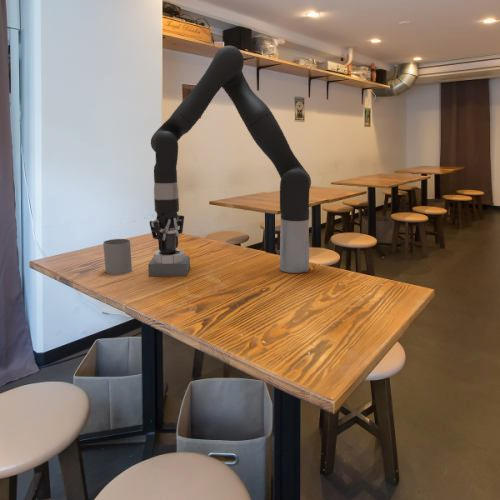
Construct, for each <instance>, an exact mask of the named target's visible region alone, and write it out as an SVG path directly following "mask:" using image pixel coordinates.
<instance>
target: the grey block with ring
mask: <svg viewBox="0 0 500 500" xmlns="http://www.w3.org/2000/svg"><path fill="white" fill-rule="evenodd" d="M185 254H186V251H185V250H183V249H179V248H176V254H174V255H162V254H160V250H159V249H158V250H155V251H154V253H153V257H151V260H150V261H149V262H148V264H147V265H148V267H147V268H148V277H187V276H188V274H189V270H190V268H191V261H190V260H191V259H190V258H191V257H190V255H185Z"/></svg>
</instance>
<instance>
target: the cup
mask: <svg viewBox="0 0 500 500" xmlns="http://www.w3.org/2000/svg"><path fill="white" fill-rule="evenodd" d="M102 244H103V253H104V254H103V255H104V266H105V273H106V274H107V275H111V276H119V275H125V274H129V273H131V272H133V264H132V253H131V250H132V249H131V240H130V239H127V238H113V239H108V240H104V241H103V243H102Z"/></svg>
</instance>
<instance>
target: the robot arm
mask: <svg viewBox="0 0 500 500" xmlns="http://www.w3.org/2000/svg"><path fill="white" fill-rule="evenodd" d="M244 64H245V63H244V56H243V53H242V52H241V50H240V49H239V48H237V47H236V46H234V45H225V46H223V47H222V46H221V48H219V49H218V50H217V51H216V53H215V55H214V57H213V59H212V61H211V62H210V64H209V66H208V68H207V69H206V71H205V72H204V74H203V76H202V77H201V78H200V80H199V81H198V82H197V83H196V85H195V86H194V87H193V88H192V90H191V91H190V92H189V93H188V94H187V96H186V97H185V98H184V99H183V100H182V102H181V103H180V104H179V105H178V106H177V108H176V109H175V110H174V111H173V113H172V114H171V115H170V117H169V118H168V119H166V120H165V122H164V123H163V124H162V125H161V126H160V127H159V128H158V129H157V130H156V131H155V132H154V134H153V135H152V136H151V139H150V146H151V149H152V150H153V151H154V152H155V164H154V167H153V180H154V183H153V184H154V185H153V197H154V211H155V213H156V218H155V219H154V220H150V221H149V227H150V231H151V235H152V239H154V240H157V241H158V243H157V244H158V250H160V251H162V252H165V251H166V240H165V238H166V233H168V229H170V228H172V229H176V249H178V246H179V235H181V234H183V230H184V221H185V215H180V214H178V212H179V210H180V199H179V198H180V197H179V187H178V172H177V164H178V159H179V158H178V157H179V142H178V141H179V140H180V139H181V138H182V137H183V136H184V135H186V134H187V133H189V132H190V130H191V129H192V128H193V127H194V126H195V125H196V124H197V122H198V121H199V120H200V119H201V117H202V116H203V114H204V113H205V111H207V109H208V107H209V105H210V104H211V103H212V100H213V99H214V97H215V96H216V95H217V93H218V92H219V91H220V89H221V88H222V89H223V90H224V92H225V94H227V96H228V97H229V99H230V100H231V102H232V103H233V105H234V106H235V109H236V111H237V113H238V115H239V117H240V118H241V120H242V122H243V124H244V125H245V127H246V129H247V131H248V133H249V134H250V136H251V137H252V140H253V141H254V142H255V143H256V146H258V147H259V148H260V150H261V151H262V152H263V154H265V156H266V157H267V158H268V159H269V160H270V162H272V164H273V165H274V167H275V169H276V171H277V173H278V175H279V177H280V183H279V212H280V239H279V240H280V241H279V243H280V245H279V271H281V272H284V273H289V274H301V273H306V272H309V270H310V268H309V267H310V242H309V234H310V233H309V230H310V190H311V186H312V179H311V176H310V173H308V171H306V169H305V168H304V167H303V165H302V163H301V162H300V160H299V159H298V158H297V157H296V156H295V153H294V152H293V150H292V149H291V147H290V144H289V143H288V140H287V138H286V136H285V134H284V132H283V130H282V128H281V126H280V124H279V122H278V120H277V119H276V117H275V116H274V114H273V112H272V110H271V109H270V108H269V107H268V105H267V104H266V103H265V102H264V101H263V100H262V99H261V98H260V97H258V95H257V94H256V93H255V92H253V90H252V89H251V87H250V85H249V83H248V81H247V79H246V77H245V75H244V73H243V68H244ZM161 228H162V229H164V230H161ZM161 232H162V233H163V234H162V236H161Z"/></svg>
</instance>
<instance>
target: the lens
mask: <svg viewBox="0 0 500 500" xmlns="http://www.w3.org/2000/svg"><path fill="white" fill-rule="evenodd" d="M161 230H164V229H162V228H161ZM162 234H163V233H162V232H161V236H162ZM165 240H166V251H165V252H162V251H160V254H162V255H174V254H176V249H177V248H176V229H172V228H170V229H168V233H166V238H165Z"/></svg>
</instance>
